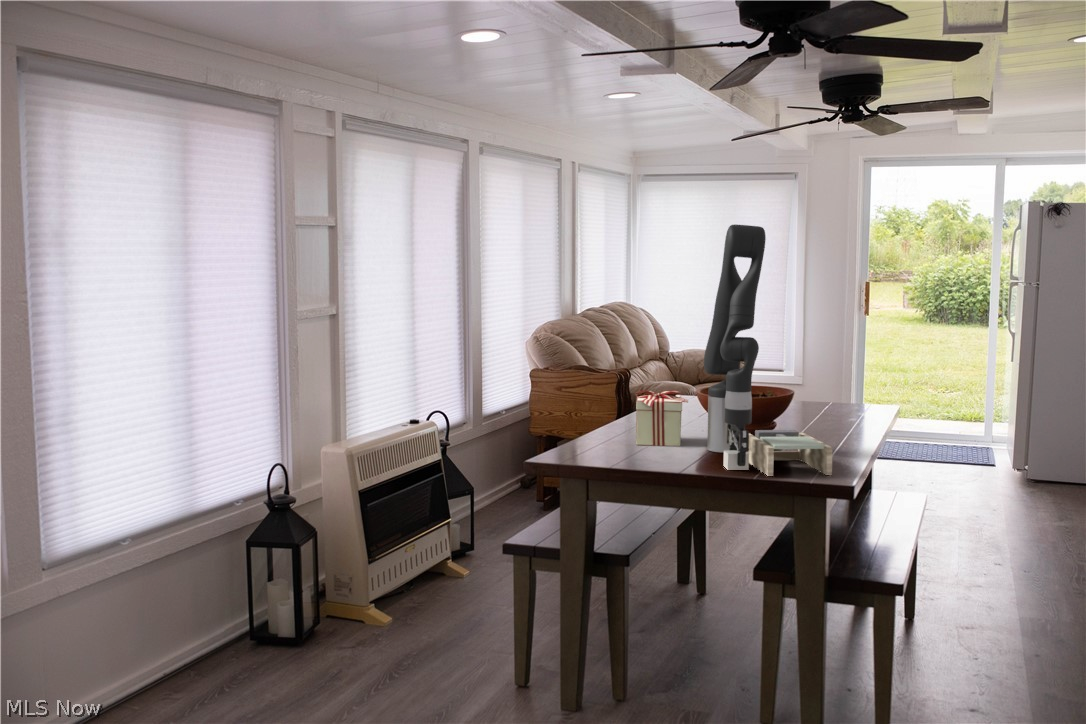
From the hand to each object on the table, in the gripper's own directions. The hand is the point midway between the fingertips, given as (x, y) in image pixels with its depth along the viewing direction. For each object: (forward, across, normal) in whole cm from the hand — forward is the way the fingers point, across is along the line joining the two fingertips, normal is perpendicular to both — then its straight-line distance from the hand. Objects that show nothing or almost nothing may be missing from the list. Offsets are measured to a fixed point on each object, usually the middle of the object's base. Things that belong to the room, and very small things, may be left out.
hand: (737, 462), depth 271 cm
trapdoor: (-3, +1, -15) cm, 15 cm away
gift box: (+2, +42, +14) cm, 45 cm away
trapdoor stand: (+2, +1, -15) cm, 15 cm away
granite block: (+2, 0, 0) cm, 2 cm away
